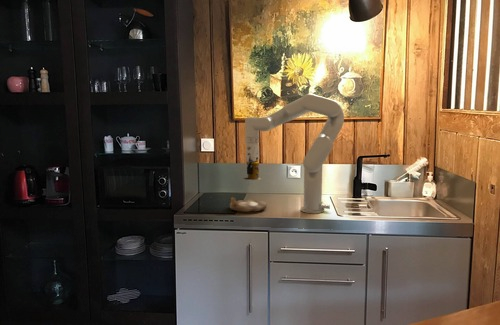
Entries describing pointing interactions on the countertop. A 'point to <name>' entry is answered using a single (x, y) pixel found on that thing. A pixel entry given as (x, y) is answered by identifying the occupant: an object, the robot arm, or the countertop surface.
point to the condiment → (254, 171)
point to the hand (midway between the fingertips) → (252, 172)
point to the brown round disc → (247, 205)
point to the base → (247, 211)
